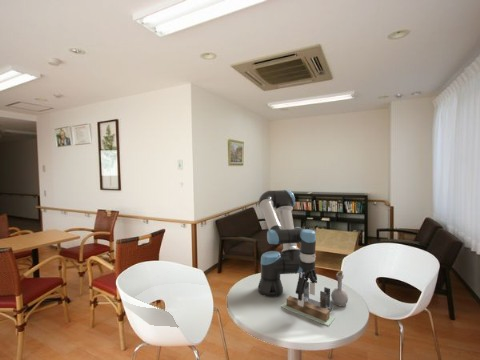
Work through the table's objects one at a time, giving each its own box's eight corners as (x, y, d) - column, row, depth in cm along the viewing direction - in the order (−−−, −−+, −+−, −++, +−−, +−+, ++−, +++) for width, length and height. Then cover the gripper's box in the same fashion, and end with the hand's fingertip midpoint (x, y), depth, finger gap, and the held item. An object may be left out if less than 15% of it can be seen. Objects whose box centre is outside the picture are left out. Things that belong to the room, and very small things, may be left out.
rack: (296, 302, 142) (296, 283, 141) (301, 297, 147) (302, 279, 147) (328, 314, 130) (328, 294, 130) (332, 308, 136) (333, 289, 135)
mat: (281, 306, 137) (281, 306, 137) (288, 300, 143) (288, 299, 143) (328, 326, 121) (328, 325, 121) (334, 318, 127) (334, 317, 127)
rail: (286, 305, 138) (286, 298, 137) (290, 302, 141) (290, 295, 140) (326, 321, 123) (326, 314, 123) (329, 318, 126) (329, 310, 126)
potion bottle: (349, 307, 136) (350, 275, 135) (332, 306, 138) (332, 273, 137) (346, 299, 145) (346, 268, 144) (329, 297, 146) (330, 267, 145)
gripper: (303, 270, 118) (302, 313, 120) (324, 254, 137) (323, 292, 139) (288, 266, 123) (288, 307, 125) (311, 251, 142) (310, 287, 144)
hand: (306, 299), depth 132 cm, fingers open, 13 cm apart
